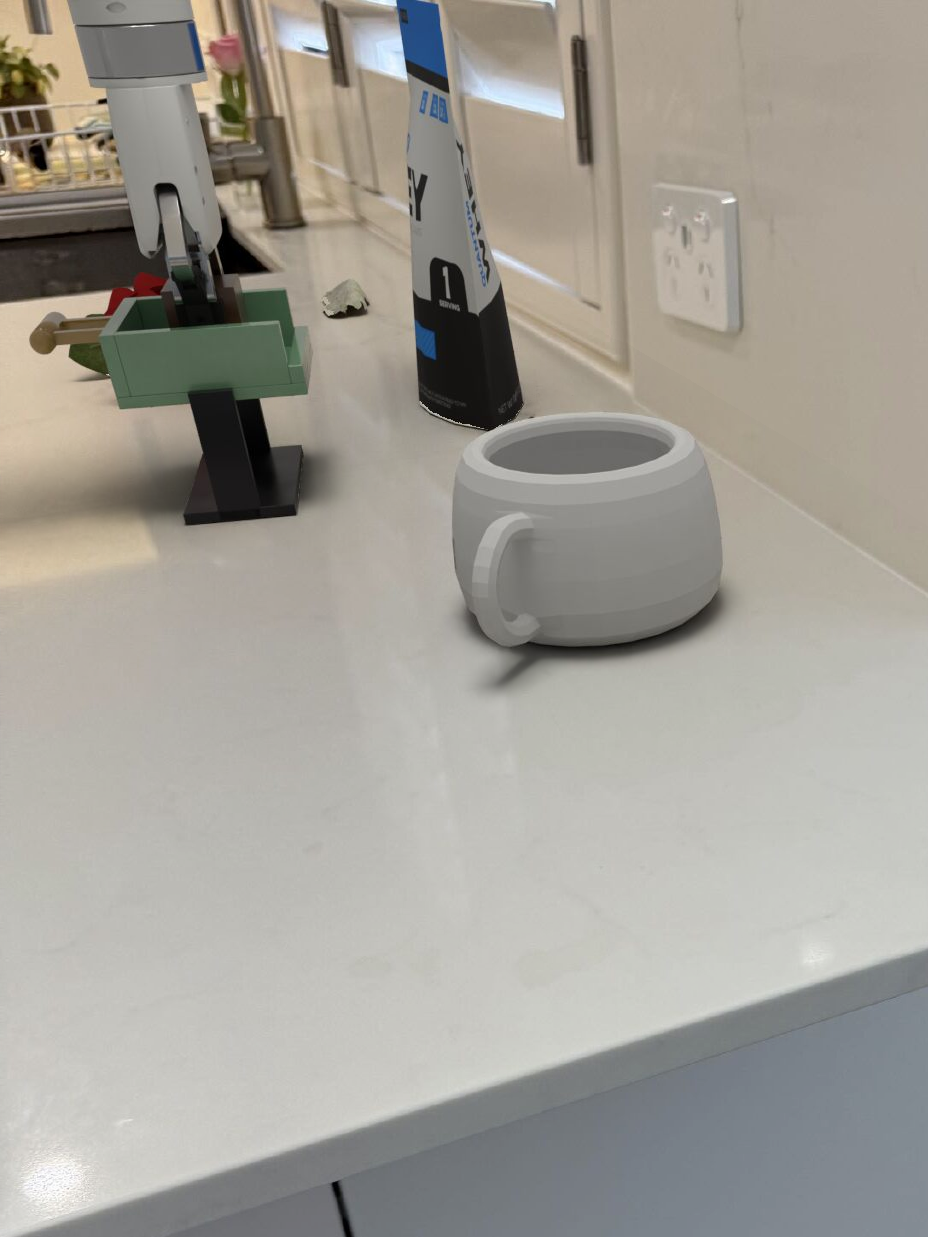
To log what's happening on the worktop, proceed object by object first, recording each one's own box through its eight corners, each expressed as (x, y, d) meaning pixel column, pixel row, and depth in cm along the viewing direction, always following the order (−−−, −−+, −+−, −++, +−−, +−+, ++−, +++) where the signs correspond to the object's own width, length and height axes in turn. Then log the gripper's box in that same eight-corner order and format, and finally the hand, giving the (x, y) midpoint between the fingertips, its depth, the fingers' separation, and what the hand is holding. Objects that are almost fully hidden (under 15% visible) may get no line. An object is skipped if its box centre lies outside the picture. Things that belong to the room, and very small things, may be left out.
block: (180, 367, 98) (160, 292, 95) (186, 351, 102) (167, 278, 99) (250, 362, 99) (233, 286, 95) (255, 346, 102) (238, 273, 99)
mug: (540, 545, 94) (522, 394, 88) (763, 572, 89) (760, 414, 83) (367, 670, 79) (331, 498, 72) (625, 712, 74) (610, 530, 67)
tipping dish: (40, 416, 94) (16, 342, 91) (71, 371, 104) (50, 303, 101) (308, 394, 97) (292, 322, 94) (313, 352, 107) (299, 286, 104)
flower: (198, 263, 147) (210, 254, 122) (239, 370, 153) (258, 382, 128) (52, 299, 143) (34, 298, 119) (99, 407, 149) (91, 427, 124)
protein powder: (497, 363, 135) (450, -6, 117) (547, 427, 117) (502, 1, 99) (402, 373, 133) (339, -2, 115) (439, 440, 115) (371, 7, 96)
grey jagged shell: (320, 296, 162) (332, 262, 160) (358, 316, 164) (371, 283, 162) (323, 322, 153) (336, 287, 151) (363, 343, 155) (377, 308, 154)
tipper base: (185, 525, 99) (150, 396, 94) (204, 462, 111) (174, 345, 106) (296, 515, 101) (268, 387, 95) (303, 454, 113) (278, 337, 107)
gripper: (103, 52, 95) (176, 332, 106) (61, 69, 82) (150, 387, 93) (213, 47, 96) (274, 324, 107) (189, 63, 83) (262, 378, 94)
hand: (215, 350), depth 100 cm, fingers closed on block, 5 cm apart
